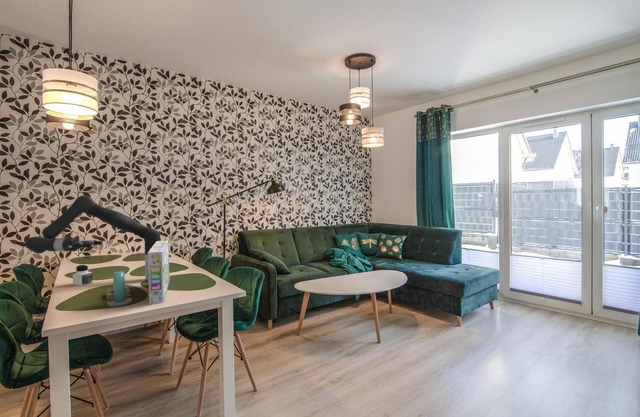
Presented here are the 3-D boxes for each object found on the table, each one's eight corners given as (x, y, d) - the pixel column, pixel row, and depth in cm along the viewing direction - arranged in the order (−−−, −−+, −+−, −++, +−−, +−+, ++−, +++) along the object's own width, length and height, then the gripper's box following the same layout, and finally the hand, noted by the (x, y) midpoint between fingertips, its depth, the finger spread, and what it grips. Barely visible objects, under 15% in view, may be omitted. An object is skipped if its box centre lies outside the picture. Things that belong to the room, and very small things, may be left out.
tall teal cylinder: (124, 298, 169) (124, 270, 168) (125, 301, 165) (124, 272, 164) (113, 300, 166) (112, 272, 165) (114, 303, 162) (113, 274, 161)
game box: (157, 283, 201) (156, 241, 200) (169, 282, 204) (168, 240, 202) (148, 304, 163) (147, 251, 162) (163, 302, 166) (162, 251, 165)
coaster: (131, 298, 173) (131, 296, 173) (133, 303, 164) (133, 301, 164) (106, 302, 167) (106, 300, 167) (107, 308, 158) (107, 306, 158)
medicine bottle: (82, 286, 196) (81, 266, 196) (72, 285, 198) (72, 266, 197) (92, 282, 203) (92, 264, 203) (83, 282, 205) (82, 263, 204)
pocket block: (128, 291, 185) (128, 287, 185) (130, 296, 176) (130, 291, 176) (106, 294, 179) (106, 290, 179) (106, 300, 170) (106, 295, 170)
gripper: (56, 239, 168) (86, 239, 169) (76, 236, 183) (104, 235, 183) (56, 253, 169) (87, 253, 169) (76, 249, 183) (105, 248, 183)
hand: (96, 244), depth 176 cm, fingers open, 8 cm apart
